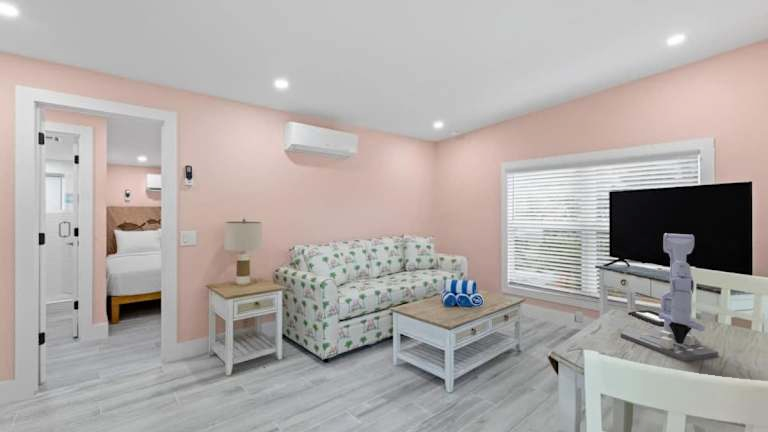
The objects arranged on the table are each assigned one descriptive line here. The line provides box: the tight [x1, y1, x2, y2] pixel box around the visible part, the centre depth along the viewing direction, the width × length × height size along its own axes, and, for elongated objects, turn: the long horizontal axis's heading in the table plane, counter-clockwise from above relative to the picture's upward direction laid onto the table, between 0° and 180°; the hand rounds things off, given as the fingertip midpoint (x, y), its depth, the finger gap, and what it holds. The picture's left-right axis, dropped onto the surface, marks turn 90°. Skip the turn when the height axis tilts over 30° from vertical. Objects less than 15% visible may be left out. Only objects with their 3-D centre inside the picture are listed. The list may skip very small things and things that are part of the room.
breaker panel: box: [620, 328, 719, 362], centre depth 136 cm, size 18×24×5 cm
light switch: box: [627, 309, 664, 328], centre depth 167 cm, size 20×3×14 cm
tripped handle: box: [659, 330, 673, 339], centre depth 136 cm, size 3×3×4 cm
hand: (679, 342), depth 131 cm, fingers closed
